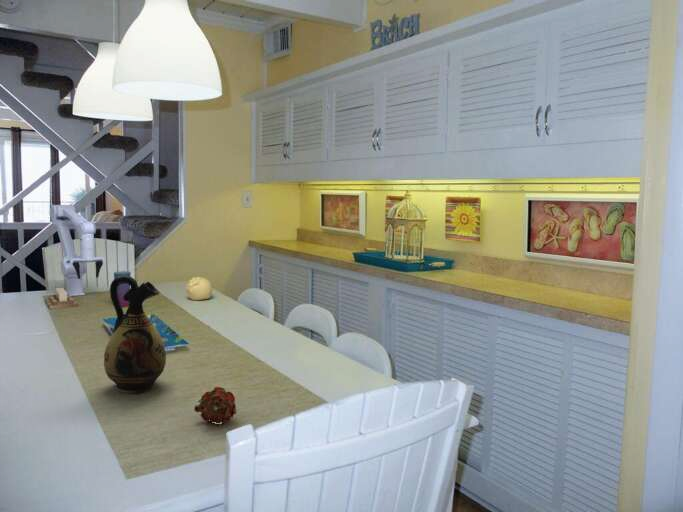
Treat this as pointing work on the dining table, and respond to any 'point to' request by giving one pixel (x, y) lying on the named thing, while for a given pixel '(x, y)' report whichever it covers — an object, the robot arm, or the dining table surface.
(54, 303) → the rack
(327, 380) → the dining table surface
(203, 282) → the sculpture
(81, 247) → the robot arm
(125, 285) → the cup
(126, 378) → the ceramic jug
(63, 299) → the clay bar
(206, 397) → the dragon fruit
